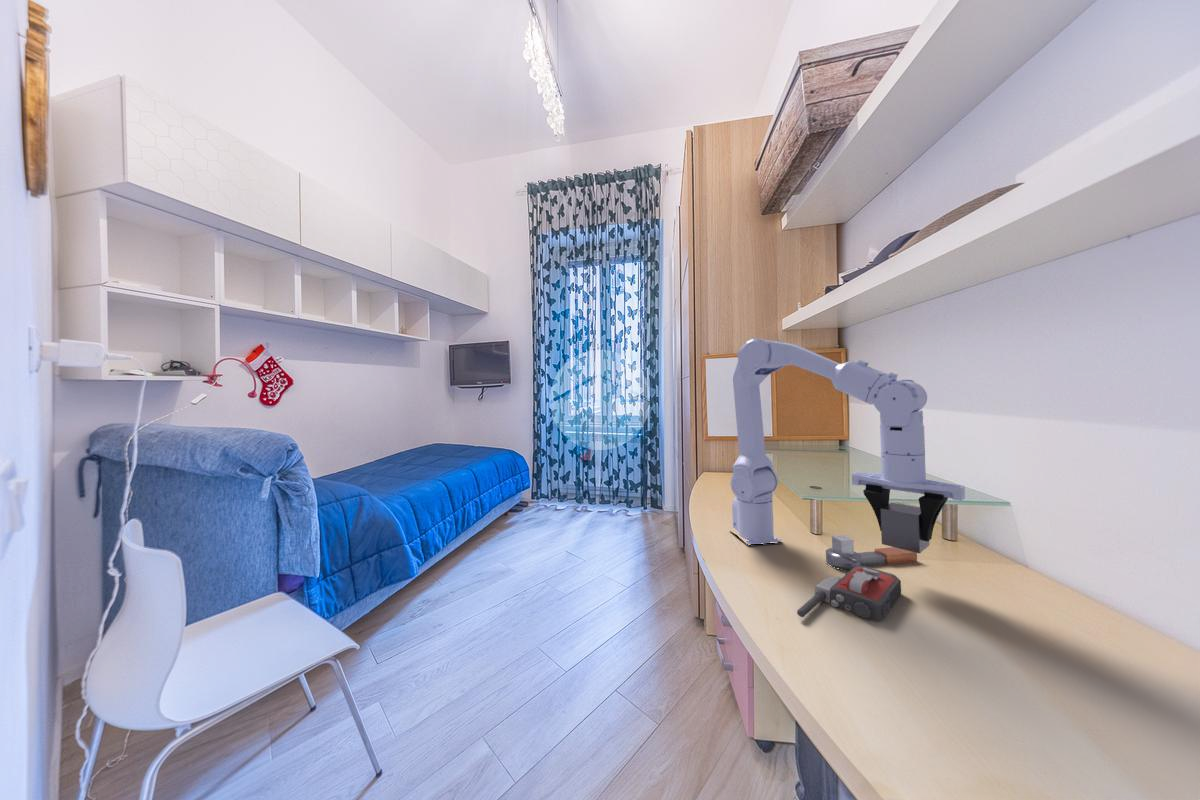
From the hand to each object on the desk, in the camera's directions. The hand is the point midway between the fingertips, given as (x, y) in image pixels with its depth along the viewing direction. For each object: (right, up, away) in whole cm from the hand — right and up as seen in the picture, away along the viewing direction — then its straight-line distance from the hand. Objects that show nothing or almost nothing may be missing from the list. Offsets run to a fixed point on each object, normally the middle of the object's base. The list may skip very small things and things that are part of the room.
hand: (905, 534), depth 62 cm
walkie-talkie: (-12, -9, -5) cm, 16 cm away
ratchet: (0, -8, +8) cm, 11 cm away
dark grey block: (0, -2, 0) cm, 2 cm away
